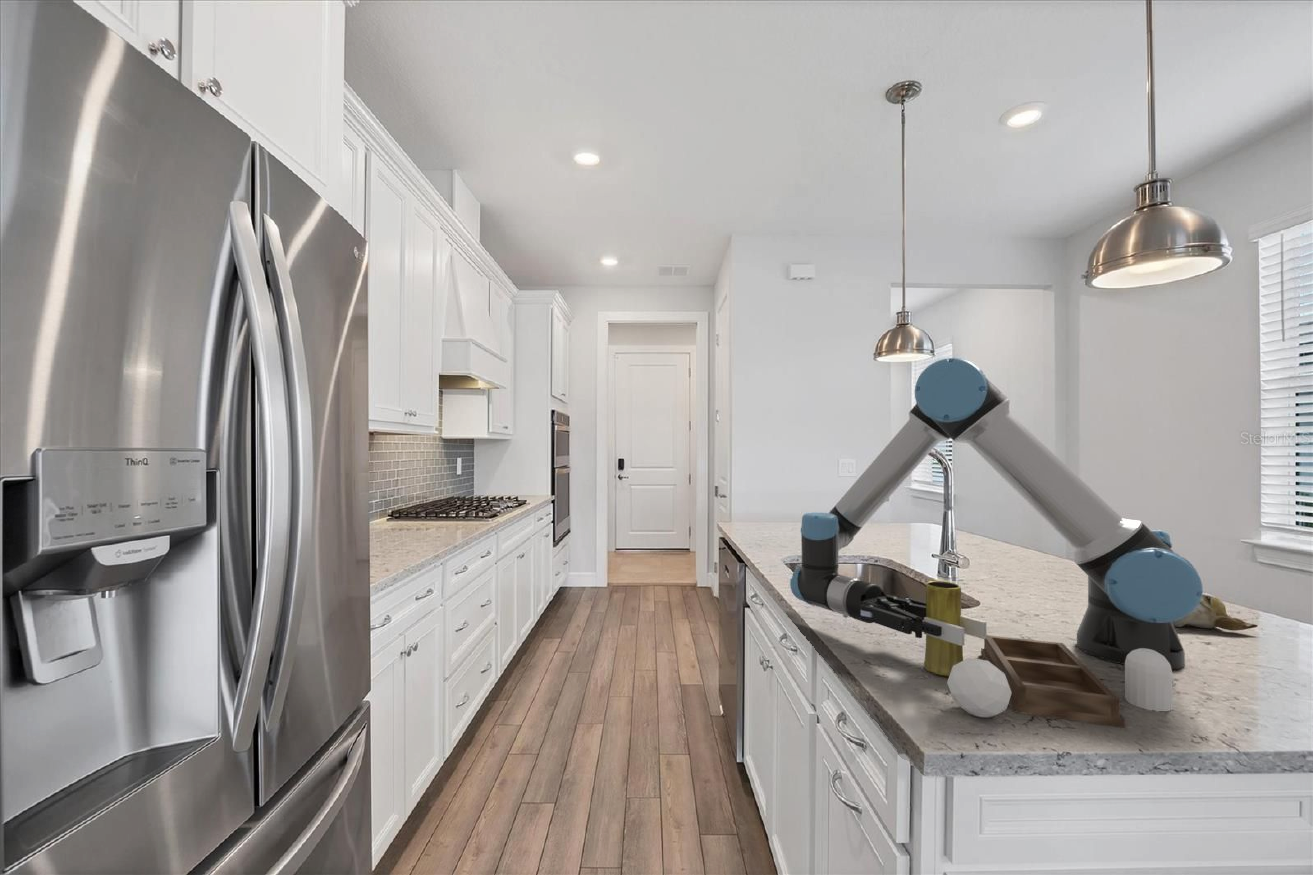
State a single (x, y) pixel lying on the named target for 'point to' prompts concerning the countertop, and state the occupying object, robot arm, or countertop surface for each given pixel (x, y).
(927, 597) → the vase
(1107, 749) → the countertop surface
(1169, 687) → the white dome-topped block
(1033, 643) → the tray
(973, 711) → the ball
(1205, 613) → the ceramic sculpture
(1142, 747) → the countertop surface
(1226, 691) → the countertop surface
